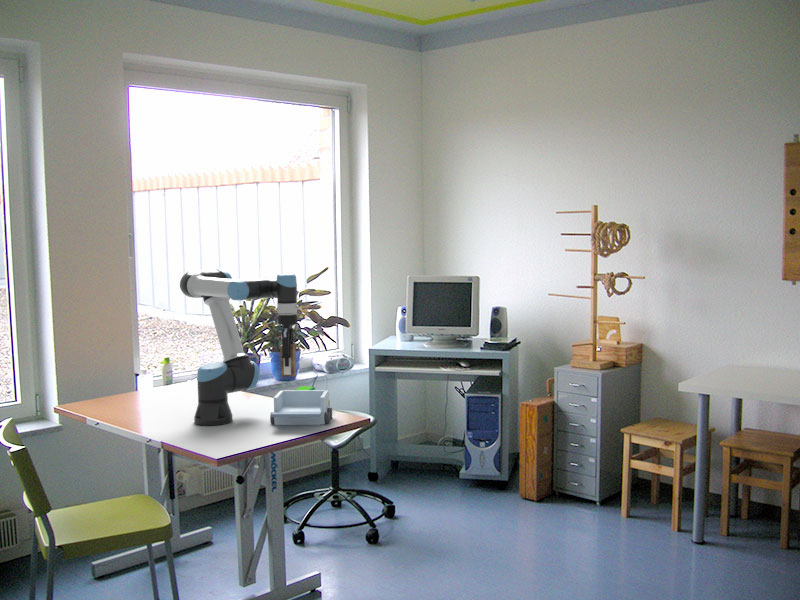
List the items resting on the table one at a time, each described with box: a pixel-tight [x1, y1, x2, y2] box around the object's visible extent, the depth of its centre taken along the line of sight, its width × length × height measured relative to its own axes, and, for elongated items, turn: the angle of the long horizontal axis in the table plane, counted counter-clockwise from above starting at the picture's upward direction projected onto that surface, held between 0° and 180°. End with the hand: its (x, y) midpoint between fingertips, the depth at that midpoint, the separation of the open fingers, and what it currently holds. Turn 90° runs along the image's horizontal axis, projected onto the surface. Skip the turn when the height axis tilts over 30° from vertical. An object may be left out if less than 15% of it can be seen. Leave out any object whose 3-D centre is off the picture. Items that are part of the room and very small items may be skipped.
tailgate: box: [270, 411, 323, 418], centre depth 300 cm, size 19×2×8 cm
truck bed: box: [269, 389, 333, 426], centre depth 312 cm, size 23×15×11 cm, turn 88°
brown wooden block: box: [279, 343, 297, 377], centre depth 299 cm, size 5×5×12 cm
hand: (288, 373), depth 299 cm, fingers closed on brown wooden block, 5 cm apart
